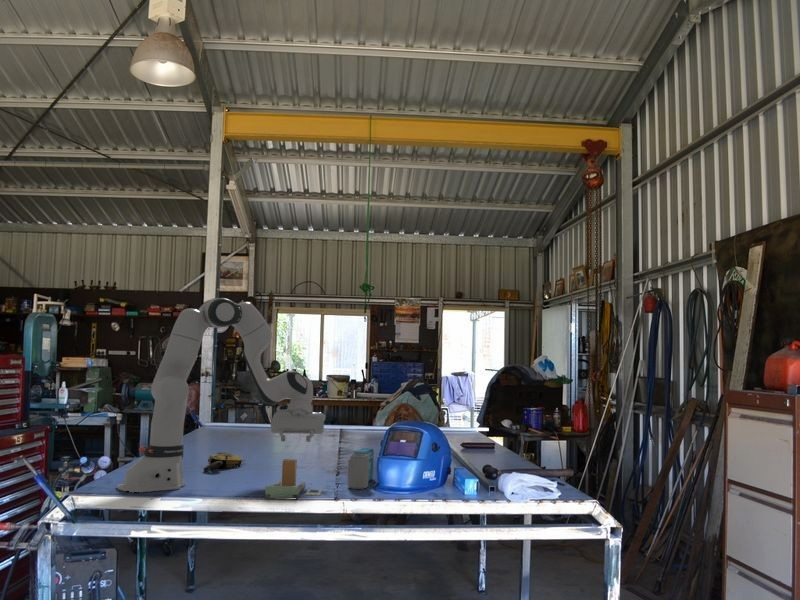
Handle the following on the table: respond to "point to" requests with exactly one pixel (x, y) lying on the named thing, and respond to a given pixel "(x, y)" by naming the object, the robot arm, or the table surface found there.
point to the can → (358, 471)
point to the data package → (370, 455)
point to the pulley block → (223, 461)
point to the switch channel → (287, 491)
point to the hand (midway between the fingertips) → (295, 440)
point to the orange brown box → (289, 472)
